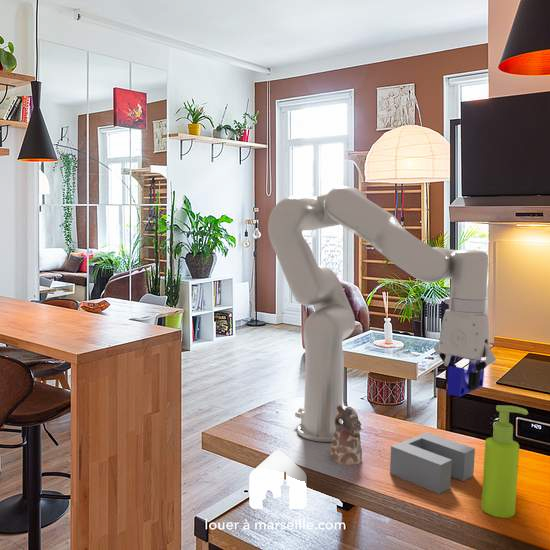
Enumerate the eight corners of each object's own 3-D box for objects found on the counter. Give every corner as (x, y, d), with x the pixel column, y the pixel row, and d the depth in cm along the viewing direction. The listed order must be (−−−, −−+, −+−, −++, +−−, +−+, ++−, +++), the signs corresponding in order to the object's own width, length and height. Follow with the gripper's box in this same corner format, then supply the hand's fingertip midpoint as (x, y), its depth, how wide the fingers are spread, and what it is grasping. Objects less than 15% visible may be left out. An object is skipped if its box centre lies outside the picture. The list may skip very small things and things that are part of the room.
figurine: (352, 468, 126) (354, 414, 125) (324, 459, 131) (325, 407, 129) (367, 457, 132) (369, 406, 131) (340, 449, 136) (342, 399, 135)
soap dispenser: (522, 521, 106) (530, 414, 104) (482, 515, 108) (489, 409, 105) (518, 505, 111) (525, 404, 109) (480, 500, 113) (486, 400, 111)
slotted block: (389, 473, 124) (391, 446, 124) (424, 457, 133) (426, 432, 132) (439, 494, 115) (440, 465, 115) (473, 475, 124) (474, 448, 123)
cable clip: (464, 381, 137) (466, 356, 137) (482, 386, 134) (484, 360, 134) (440, 392, 129) (442, 365, 128) (459, 396, 126) (461, 369, 125)
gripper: (424, 302, 133) (419, 380, 135) (495, 313, 120) (489, 398, 122) (442, 299, 138) (437, 374, 140) (512, 309, 126) (505, 392, 128)
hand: (461, 385), depth 131 cm, fingers closed on cable clip, 4 cm apart
